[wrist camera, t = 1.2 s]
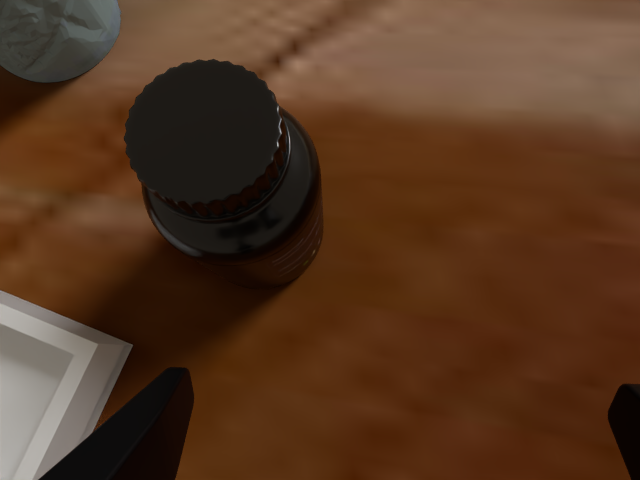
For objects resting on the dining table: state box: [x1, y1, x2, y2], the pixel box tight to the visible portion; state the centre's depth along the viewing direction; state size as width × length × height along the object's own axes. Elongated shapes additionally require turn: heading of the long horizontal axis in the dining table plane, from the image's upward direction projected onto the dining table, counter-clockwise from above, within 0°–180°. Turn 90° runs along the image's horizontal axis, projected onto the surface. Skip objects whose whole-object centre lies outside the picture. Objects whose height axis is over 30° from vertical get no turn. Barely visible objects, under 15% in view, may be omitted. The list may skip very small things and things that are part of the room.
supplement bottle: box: [124, 59, 323, 289], centre depth 18 cm, size 7×7×12 cm
